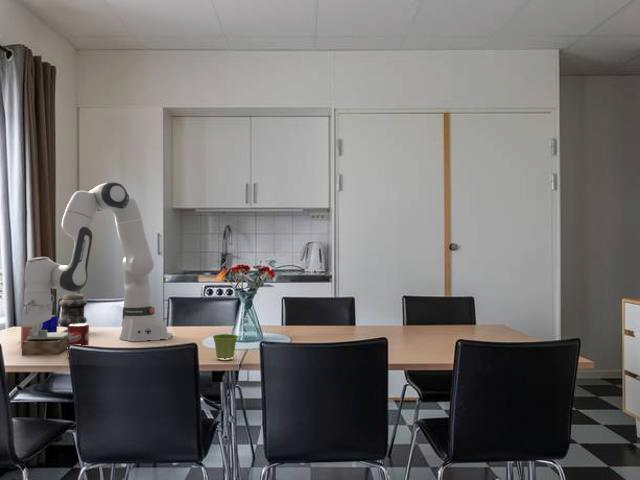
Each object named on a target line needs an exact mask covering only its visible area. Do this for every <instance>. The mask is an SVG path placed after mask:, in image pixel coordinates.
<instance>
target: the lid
mask: <svg viewBox="0 0 640 480" xmlns="http://www.w3.org/2000/svg"><path fill="white" fill-rule="evenodd" d="M67 335H68V332H62V331H61V332H60V331H59V332H58V331H57V332H53V333H47V330H41V334H40V335H38V336H33V330H30V336H28V337H27V339H63V338H65V337H67Z"/></svg>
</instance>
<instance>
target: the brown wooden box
mask: <svg viewBox="0 0 640 480" xmlns="http://www.w3.org/2000/svg"><path fill="white" fill-rule="evenodd" d="M66 351H67V337H65V338H63V339H28V340H26V341H23V342H22V349H21V356H53V355H56V356H58V355H60V354H62V353H64V352H66Z"/></svg>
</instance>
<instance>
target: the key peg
mask: <svg viewBox="0 0 640 480" xmlns="http://www.w3.org/2000/svg"><path fill="white" fill-rule="evenodd" d="M20 327H21V328H20V348H21V350H22V342H23V341H26V340H28V339H27V337H28V336H30V330H32V327H22V324H21V325H20Z"/></svg>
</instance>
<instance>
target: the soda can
mask: <svg viewBox="0 0 640 480" xmlns="http://www.w3.org/2000/svg"><path fill="white" fill-rule="evenodd" d="M67 329H68V335H67V347H68V345H69V344H81V345H90V343H89V342H90V341H89V340H90V325H89V323H87V322H86V323H76V324H70V325H69V326H68V328H67ZM66 356H67V357H68V354H67V353H66Z"/></svg>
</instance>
